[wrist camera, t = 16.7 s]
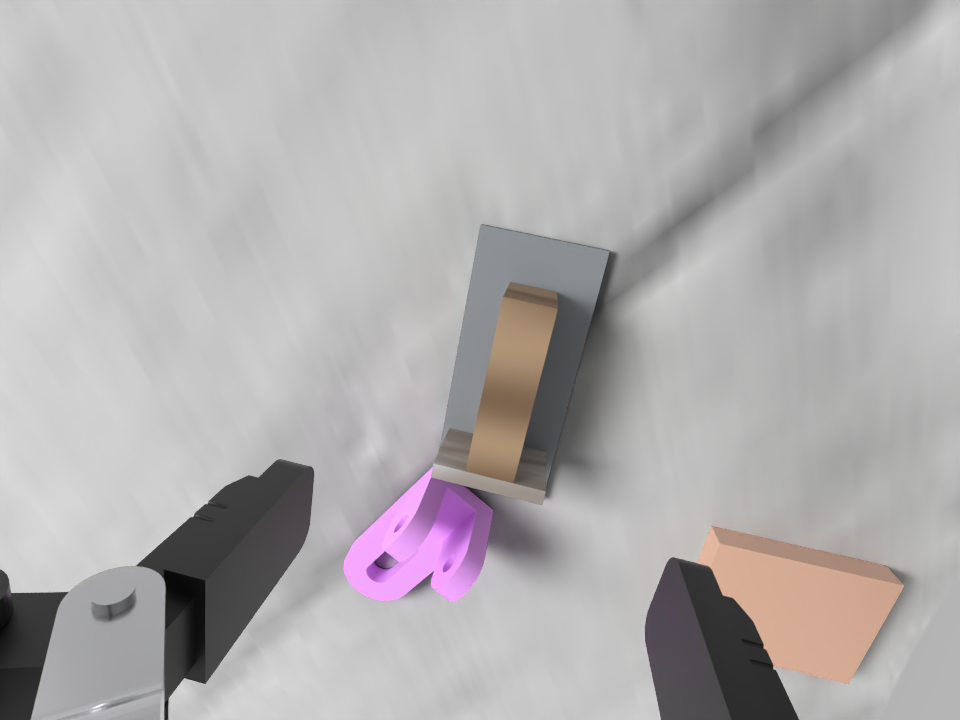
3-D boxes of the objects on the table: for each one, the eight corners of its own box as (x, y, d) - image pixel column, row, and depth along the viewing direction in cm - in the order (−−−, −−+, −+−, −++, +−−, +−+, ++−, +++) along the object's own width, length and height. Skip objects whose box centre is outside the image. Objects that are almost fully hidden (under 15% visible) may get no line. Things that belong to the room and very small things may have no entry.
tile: (720, 543, 34) (679, 643, 37) (904, 585, 33) (848, 684, 36) (709, 522, 36) (672, 618, 39) (882, 561, 35) (831, 656, 38)
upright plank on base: (479, 275, 32) (466, 288, 27) (588, 299, 31) (595, 317, 26) (447, 440, 36) (430, 477, 31) (543, 464, 35) (542, 505, 30)
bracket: (436, 463, 36) (410, 526, 30) (493, 510, 37) (480, 582, 31) (337, 557, 41) (296, 630, 34) (389, 598, 42) (358, 676, 35)
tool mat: (481, 224, 31) (480, 224, 31) (608, 250, 31) (609, 251, 30) (436, 470, 37) (434, 474, 37) (542, 496, 37) (542, 500, 36)
